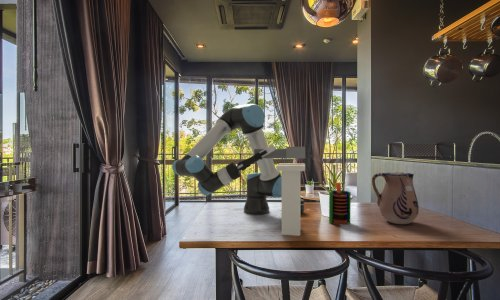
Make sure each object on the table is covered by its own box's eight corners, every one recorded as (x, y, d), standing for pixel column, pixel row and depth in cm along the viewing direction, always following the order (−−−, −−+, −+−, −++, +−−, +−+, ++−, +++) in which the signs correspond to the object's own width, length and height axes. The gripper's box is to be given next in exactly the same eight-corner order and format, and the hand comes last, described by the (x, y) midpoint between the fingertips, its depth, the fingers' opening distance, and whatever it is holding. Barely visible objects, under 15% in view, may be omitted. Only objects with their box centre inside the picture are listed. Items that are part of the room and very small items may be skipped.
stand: (279, 225, 139) (279, 163, 139) (304, 226, 137) (304, 163, 137) (276, 236, 122) (276, 165, 122) (305, 237, 120) (305, 165, 120)
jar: (286, 210, 172) (286, 198, 172) (303, 211, 172) (303, 198, 172) (287, 214, 162) (287, 201, 162) (305, 214, 162) (305, 201, 162)
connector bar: (256, 157, 131) (256, 146, 131) (305, 157, 127) (305, 146, 127) (253, 158, 125) (253, 146, 125) (305, 158, 121) (305, 146, 121)
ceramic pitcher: (424, 228, 135) (424, 174, 135) (376, 225, 139) (376, 174, 139) (411, 219, 152) (411, 171, 152) (369, 217, 156) (369, 171, 156)
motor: (334, 225, 139) (334, 184, 139) (325, 221, 148) (325, 182, 147) (353, 224, 142) (353, 183, 142) (342, 219, 150) (342, 181, 150)
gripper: (237, 178, 138) (279, 154, 134) (228, 182, 121) (276, 155, 117) (230, 165, 139) (271, 140, 135) (220, 167, 122) (267, 139, 118)
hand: (274, 147), depth 126 cm, fingers closed on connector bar, 4 cm apart
